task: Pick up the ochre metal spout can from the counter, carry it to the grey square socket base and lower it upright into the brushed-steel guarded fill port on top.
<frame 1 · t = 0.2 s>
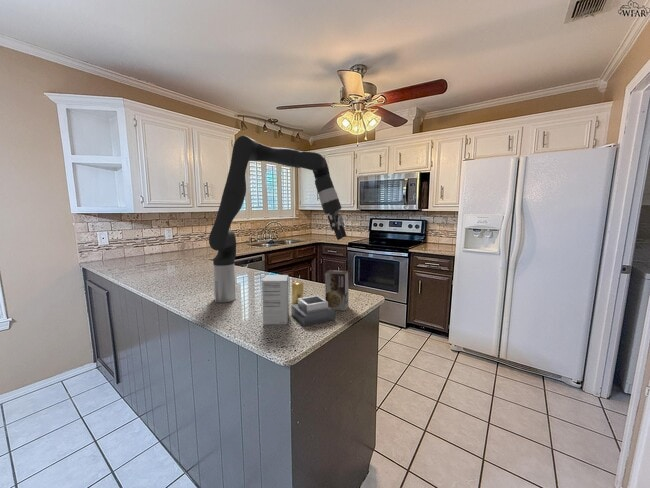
hand: (342, 238, 113), 31 cm above the worktop, tool tilted 20°, fingers open, 8 cm apart
coffee box: (336, 308, 119), on the worktop
grey square socket base: (312, 317, 108), on the worktop
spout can: (297, 304, 122), on the worktop
supplement box: (276, 320, 105), on the worktop
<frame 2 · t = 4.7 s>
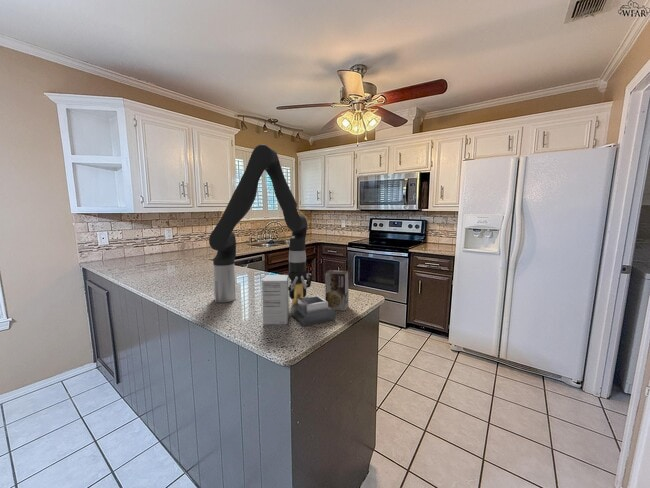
hand: (297, 297, 122), 3 cm above the worktop, tool pointing down, fingers closed on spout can, 5 cm apart
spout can: (297, 304, 122), on the worktop, touching gripper
everything else where it was.
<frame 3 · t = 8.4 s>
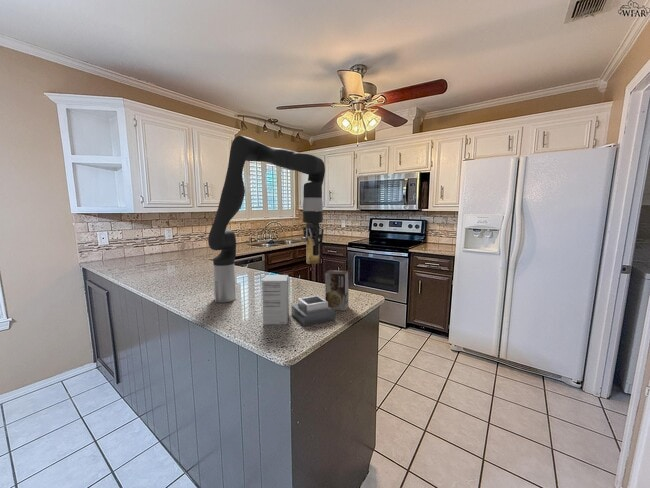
hand: (312, 254, 105), 25 cm above the worktop, tool pointing down, fingers closed on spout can, 5 cm apart
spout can: (312, 262, 106), point 22 cm above the worktop, touching gripper
everything else where it was.
when the fingers open (9 cm above the worktop, at t = 12.3 s): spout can drops 1 cm, resting on grey square socket base.
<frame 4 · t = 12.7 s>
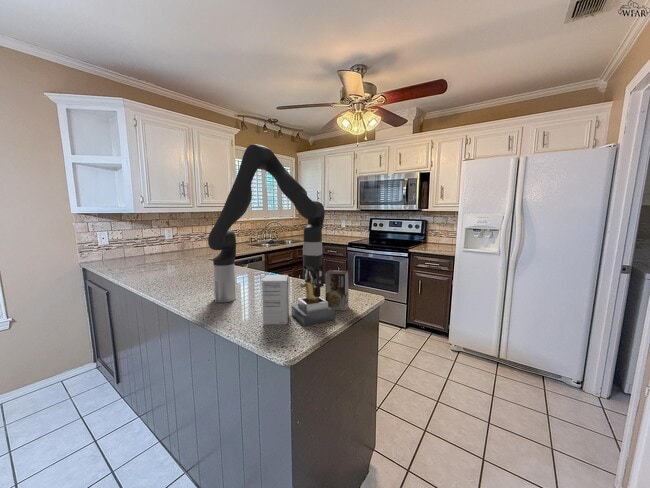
hand: (312, 293, 107), 10 cm above the worktop, tool pointing down, fingers open, 8 cm apart
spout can: (312, 307, 108), point 4 cm above the worktop, touching grey square socket base
everything else where it was.
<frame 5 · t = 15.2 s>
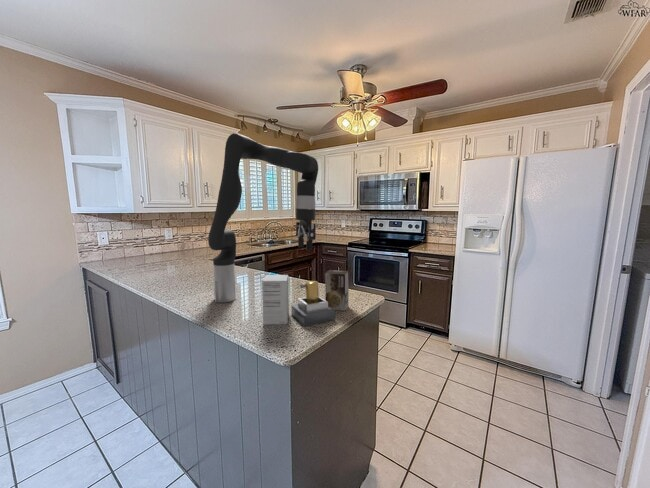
hand: (304, 248, 108), 27 cm above the worktop, tool pointing down, fingers open, 8 cm apart
nothing on the worktop moved.
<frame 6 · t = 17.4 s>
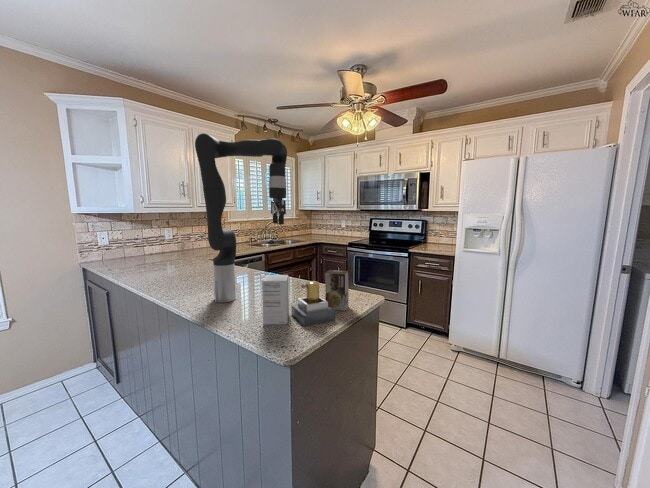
hand: (278, 223, 122), 36 cm above the worktop, tool pointing down, fingers open, 8 cm apart
nothing on the worktop moved.
at the end: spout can 0.1 cm off-centre on the grey square socket base, point 4.1 cm above the grey square socket base's base; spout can tilted 2°; the gripper is holding nothing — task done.
